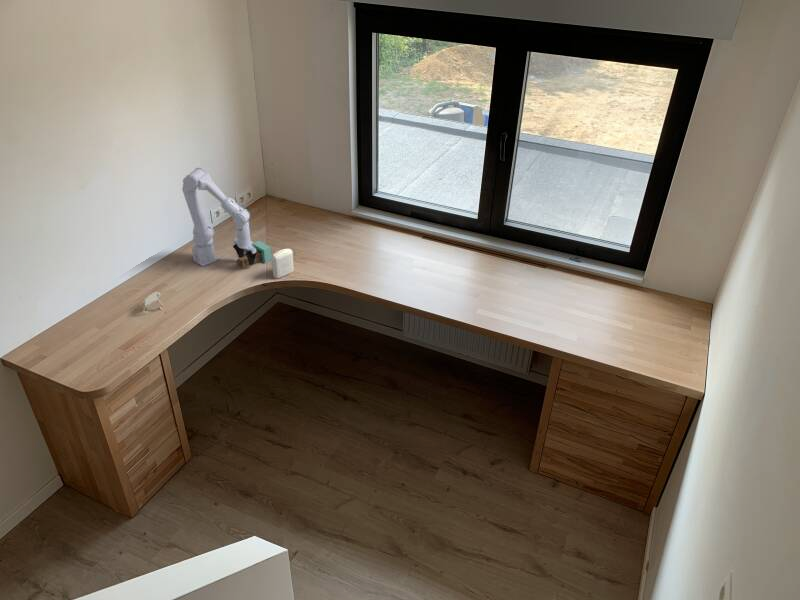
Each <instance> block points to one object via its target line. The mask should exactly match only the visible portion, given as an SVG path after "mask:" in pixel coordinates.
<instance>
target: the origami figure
mask: <svg viewBox="0 0 800 600" xmlns="http://www.w3.org/2000/svg"><path fill="white" fill-rule="evenodd" d="M160 296H161V293H160V292H157V291H154V292H152V293H151V294H149V295H148V296H147V297H146V298H144V301H143V303H142V304H143V305H144V308H143V310H142V313H145V315H148V313H149V312H148V311H145V309H147V308H149V305H151V304H154V303H155V302H158V303H159V304H160V305H159V306H158V308H159V309H160V310H161V311H162V310H163V307H164V304H163V303H162V301H161V300H160Z"/></svg>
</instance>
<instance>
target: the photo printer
mask: <svg viewBox="0 0 800 600" xmlns="http://www.w3.org/2000/svg"><path fill="white" fill-rule="evenodd" d="M271 255H272V260H271V268H272V269H271V270H272V275H273V278H274V279H281V278H283V277H285V276H287V275H290V274H292V273H293V272H294V271H295V269H294V253H293V250H292V249H290V248H283V249H280V250H278V251H276V252H275V253H273V254H271Z"/></svg>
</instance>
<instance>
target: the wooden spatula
mask: <svg viewBox="0 0 800 600" xmlns="http://www.w3.org/2000/svg"><path fill="white" fill-rule="evenodd" d="M272 252H273V251H271V255H273V254H272ZM259 262H263V261H262V251H260V250H258V253H257V254H256V256H255V260H254V264H252V265H249V262H248V258H247V256H246V255H244V257H242V258H239V257H238V258H237V259H236V264H237V265H236V266H237V268H238V269H241V270H244V269H246V268H248V267H251V266H253V265H255V264H259Z"/></svg>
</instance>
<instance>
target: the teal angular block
mask: <svg viewBox="0 0 800 600" xmlns="http://www.w3.org/2000/svg"><path fill="white" fill-rule="evenodd" d="M253 242H254V243H252V245H253V246H254V248H255V249H256V250H257V251H258V250H260V251H262V261H261V262H263V263H264V264H266V263H269V262H272V255H273V254H271V252H272V248H271V246H269V245H267V244H266V243H264V242H262V241H261V240H257V241H253Z"/></svg>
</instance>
